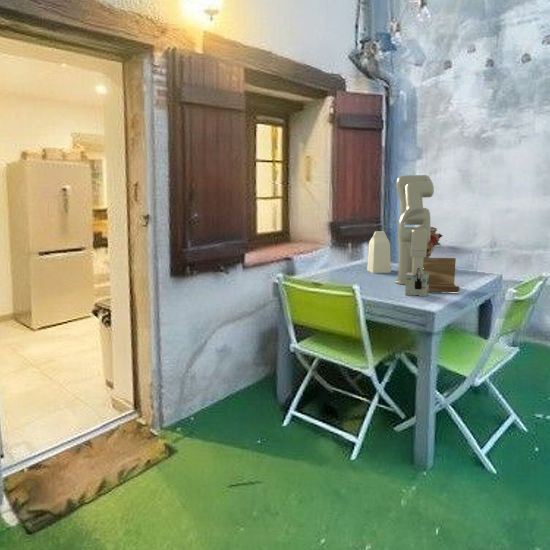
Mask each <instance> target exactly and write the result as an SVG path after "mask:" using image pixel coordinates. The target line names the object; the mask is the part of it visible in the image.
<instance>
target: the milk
mask: <svg viewBox="0 0 550 550" xmlns="http://www.w3.org/2000/svg"><path fill="white" fill-rule="evenodd" d="M391 263H392V262H391V242H390V240H389V239H388V237H387V234H386V231H383V230H381V231H374V233H373V235H372V237H371V238H370V240H369V241H368V253H367V267H366V270H367V271H368V272H370V273H372V274H384V273H385V274H388V273H389V274H390V273H392V265H391Z"/></svg>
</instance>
